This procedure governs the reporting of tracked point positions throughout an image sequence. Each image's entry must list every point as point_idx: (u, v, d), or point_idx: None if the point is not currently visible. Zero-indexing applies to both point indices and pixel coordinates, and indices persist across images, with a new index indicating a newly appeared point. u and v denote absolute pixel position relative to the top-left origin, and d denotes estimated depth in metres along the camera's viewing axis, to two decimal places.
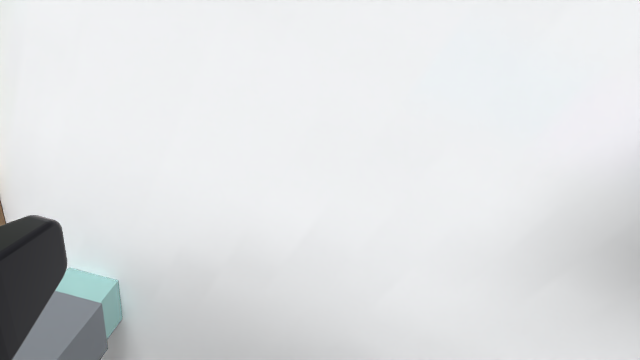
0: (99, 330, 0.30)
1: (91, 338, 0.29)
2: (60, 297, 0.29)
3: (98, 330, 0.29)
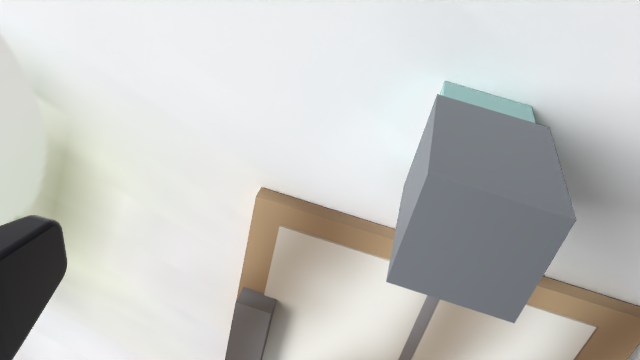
0: (486, 115, 0.17)
1: (481, 123, 0.16)
2: (414, 158, 0.18)
3: (482, 114, 0.17)
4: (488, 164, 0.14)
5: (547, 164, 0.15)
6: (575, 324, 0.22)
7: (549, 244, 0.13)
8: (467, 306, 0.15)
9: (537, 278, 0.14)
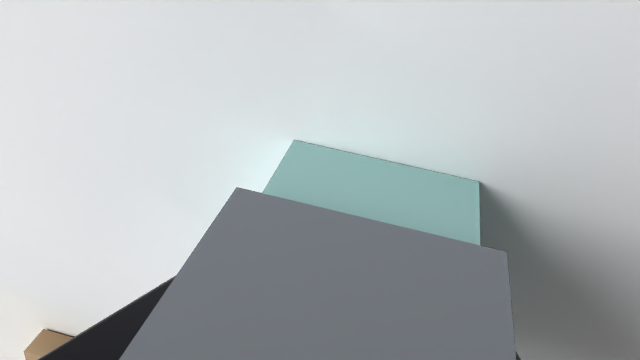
0: (343, 237, 0.07)
1: (316, 272, 0.06)
2: None
3: (332, 237, 0.07)
4: None
5: None
6: None
7: None
8: None
9: None
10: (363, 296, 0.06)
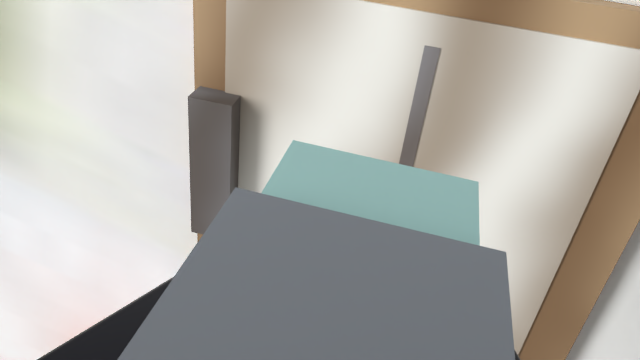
0: (342, 237, 0.07)
1: (315, 272, 0.06)
2: None
3: (331, 238, 0.07)
4: None
5: None
6: (627, 56, 0.16)
7: None
8: None
9: None
10: (362, 296, 0.06)
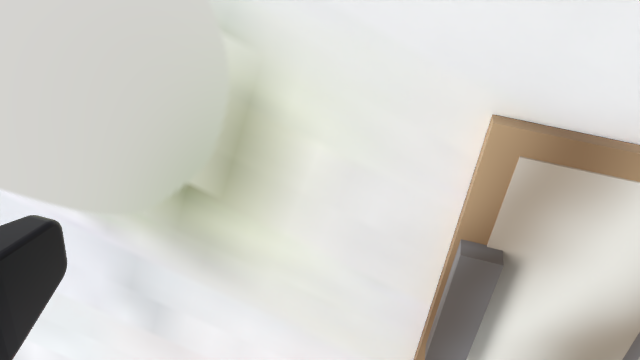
0: None
1: None
2: None
3: None
4: None
5: None
6: None
7: None
8: None
9: None
10: None
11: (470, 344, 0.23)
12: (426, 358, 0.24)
